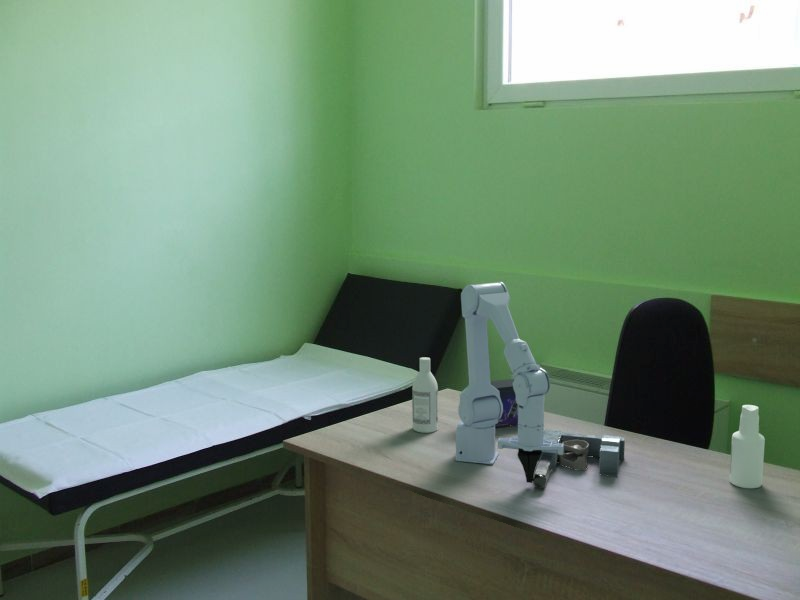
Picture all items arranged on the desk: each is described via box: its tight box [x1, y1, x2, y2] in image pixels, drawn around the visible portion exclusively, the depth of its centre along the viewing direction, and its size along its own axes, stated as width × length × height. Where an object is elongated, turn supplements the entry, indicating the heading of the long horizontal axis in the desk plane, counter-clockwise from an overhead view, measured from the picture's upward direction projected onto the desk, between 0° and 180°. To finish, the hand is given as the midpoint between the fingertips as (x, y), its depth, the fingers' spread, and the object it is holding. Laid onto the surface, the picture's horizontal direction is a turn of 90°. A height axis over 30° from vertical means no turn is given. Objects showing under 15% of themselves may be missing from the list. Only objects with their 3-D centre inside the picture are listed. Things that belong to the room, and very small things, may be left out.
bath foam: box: [411, 356, 439, 434], centre depth 225 cm, size 7×7×20 cm
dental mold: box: [558, 440, 589, 471], centre depth 199 cm, size 8×7×5 cm
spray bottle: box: [729, 404, 766, 489], centre depth 186 cm, size 7×7×18 cm
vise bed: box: [561, 431, 626, 477], centre depth 201 cm, size 24×13×7 cm, turn 72°
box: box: [490, 378, 518, 429], centre depth 229 cm, size 17×7×12 cm, turn 111°
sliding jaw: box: [532, 429, 562, 489], centre depth 195 cm, size 4×24×6 cm, turn 162°
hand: (529, 480), depth 186 cm, fingers closed
